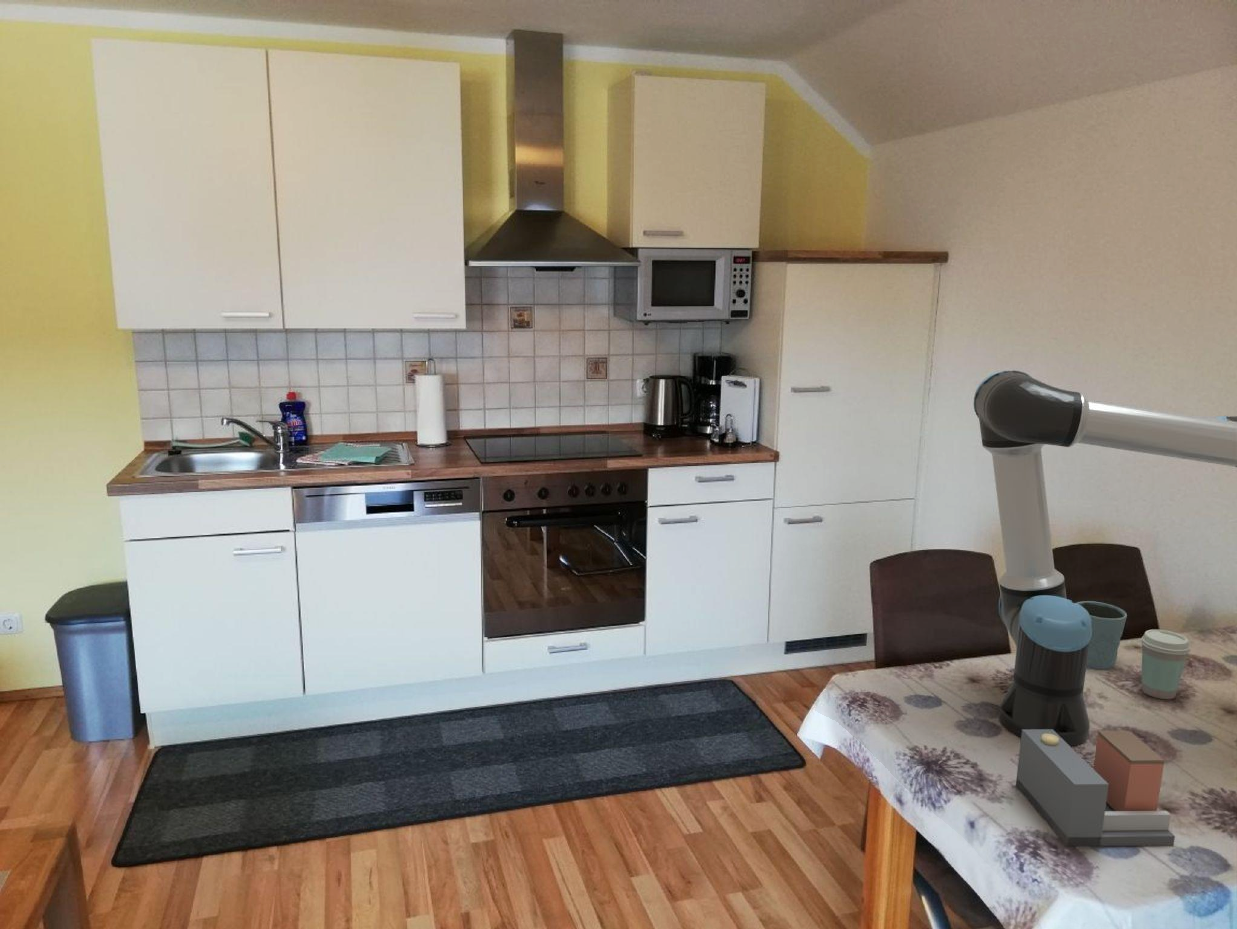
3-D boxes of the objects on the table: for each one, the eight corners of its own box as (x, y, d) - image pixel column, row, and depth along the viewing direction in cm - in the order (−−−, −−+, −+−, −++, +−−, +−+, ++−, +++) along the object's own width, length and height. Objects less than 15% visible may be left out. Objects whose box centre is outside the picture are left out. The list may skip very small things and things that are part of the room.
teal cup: (1080, 648, 203) (1087, 597, 201) (1128, 663, 196) (1135, 611, 193) (1058, 659, 197) (1065, 607, 195) (1107, 676, 190) (1114, 621, 187)
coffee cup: (1192, 703, 178) (1201, 645, 175) (1148, 702, 178) (1156, 644, 176) (1167, 683, 186) (1175, 628, 184) (1125, 682, 186) (1133, 627, 184)
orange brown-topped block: (1123, 818, 136) (1131, 760, 134) (1090, 786, 145) (1098, 731, 143) (1155, 818, 136) (1164, 760, 134) (1121, 785, 145) (1129, 730, 143)
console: (1066, 846, 132) (1075, 779, 130) (1015, 785, 148) (1022, 724, 146) (1173, 845, 133) (1184, 778, 131) (1111, 784, 149) (1119, 724, 147)
